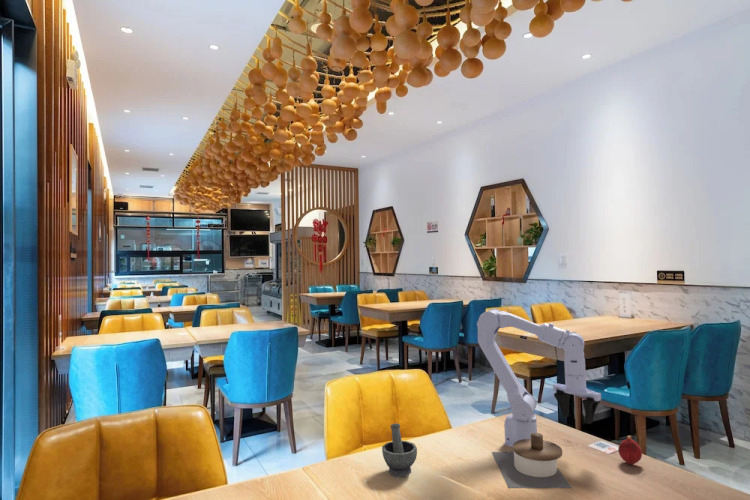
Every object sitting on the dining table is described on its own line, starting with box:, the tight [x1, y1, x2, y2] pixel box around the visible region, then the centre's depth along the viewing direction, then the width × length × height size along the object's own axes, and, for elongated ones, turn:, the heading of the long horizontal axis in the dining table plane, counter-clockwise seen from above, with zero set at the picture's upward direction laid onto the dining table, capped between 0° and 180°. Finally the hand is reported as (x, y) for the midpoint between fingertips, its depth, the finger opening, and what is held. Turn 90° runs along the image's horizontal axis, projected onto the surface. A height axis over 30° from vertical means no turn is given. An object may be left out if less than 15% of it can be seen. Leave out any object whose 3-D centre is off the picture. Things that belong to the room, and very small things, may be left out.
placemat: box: [491, 451, 573, 489], centre depth 126 cm, size 16×22×1 cm
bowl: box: [513, 451, 558, 478], centre depth 126 cm, size 11×11×5 cm
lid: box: [512, 432, 563, 461], centre depth 126 cm, size 13×13×4 cm
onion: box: [618, 435, 643, 466], centre depth 127 cm, size 6×6×8 cm
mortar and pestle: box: [381, 423, 418, 478], centre depth 127 cm, size 11×9×12 cm
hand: (577, 419), depth 134 cm, fingers open, 7 cm apart
